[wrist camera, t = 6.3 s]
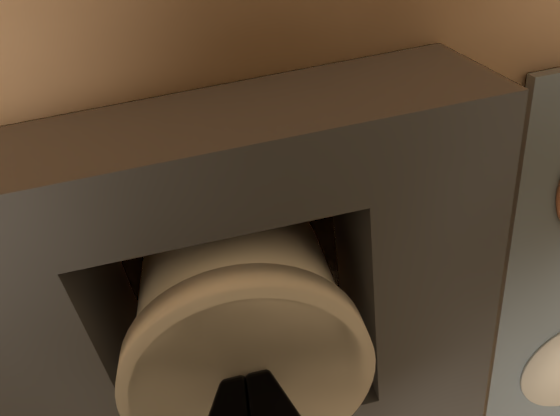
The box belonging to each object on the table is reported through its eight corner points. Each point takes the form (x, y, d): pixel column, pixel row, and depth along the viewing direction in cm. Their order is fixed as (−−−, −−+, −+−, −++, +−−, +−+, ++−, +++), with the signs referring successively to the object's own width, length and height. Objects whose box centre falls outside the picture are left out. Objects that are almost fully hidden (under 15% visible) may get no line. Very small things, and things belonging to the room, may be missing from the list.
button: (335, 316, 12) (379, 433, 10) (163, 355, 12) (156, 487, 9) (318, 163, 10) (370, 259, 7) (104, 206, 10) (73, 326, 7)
